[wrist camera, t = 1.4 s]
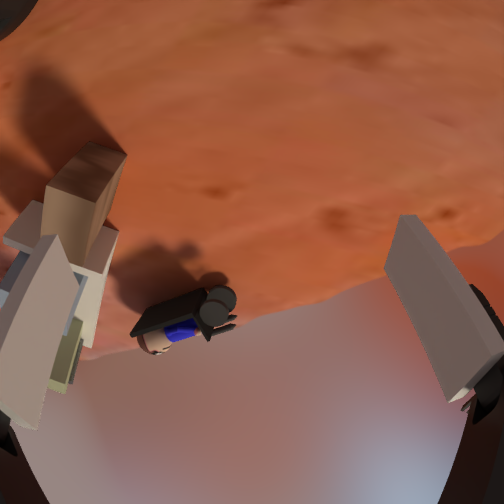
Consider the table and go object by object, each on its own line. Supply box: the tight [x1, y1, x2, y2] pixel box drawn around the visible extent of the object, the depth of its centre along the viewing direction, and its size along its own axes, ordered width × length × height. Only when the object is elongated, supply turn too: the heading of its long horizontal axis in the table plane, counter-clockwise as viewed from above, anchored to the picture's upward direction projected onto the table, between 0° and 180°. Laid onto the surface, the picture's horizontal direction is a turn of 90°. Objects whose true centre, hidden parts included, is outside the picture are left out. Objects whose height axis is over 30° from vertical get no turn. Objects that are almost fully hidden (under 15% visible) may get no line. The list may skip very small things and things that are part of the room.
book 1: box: [0, 251, 88, 336], centre depth 30 cm, size 8×4×11 cm, turn 62°
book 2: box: [47, 318, 83, 394], centre depth 38 cm, size 8×4×11 cm, turn 62°
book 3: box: [40, 141, 127, 267], centre depth 27 cm, size 4×7×10 cm, turn 152°
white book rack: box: [3, 200, 119, 348], centre depth 37 cm, size 12×24×8 cm, turn 152°
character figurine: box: [130, 285, 237, 355], centre depth 40 cm, size 8×7×15 cm
